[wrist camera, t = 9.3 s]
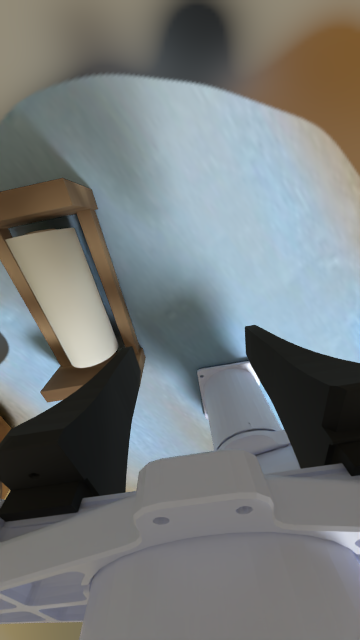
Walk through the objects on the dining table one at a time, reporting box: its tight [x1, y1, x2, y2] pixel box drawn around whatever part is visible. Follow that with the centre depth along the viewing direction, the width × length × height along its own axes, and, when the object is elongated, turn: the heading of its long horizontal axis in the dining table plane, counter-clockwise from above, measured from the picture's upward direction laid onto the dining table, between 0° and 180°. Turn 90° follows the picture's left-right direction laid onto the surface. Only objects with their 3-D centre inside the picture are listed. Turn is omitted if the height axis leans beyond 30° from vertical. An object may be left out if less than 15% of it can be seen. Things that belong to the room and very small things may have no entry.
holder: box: [0, 178, 146, 402], centre depth 19 cm, size 18×10×5 cm, turn 10°
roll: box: [5, 228, 118, 368], centre depth 19 cm, size 12×5×5 cm
